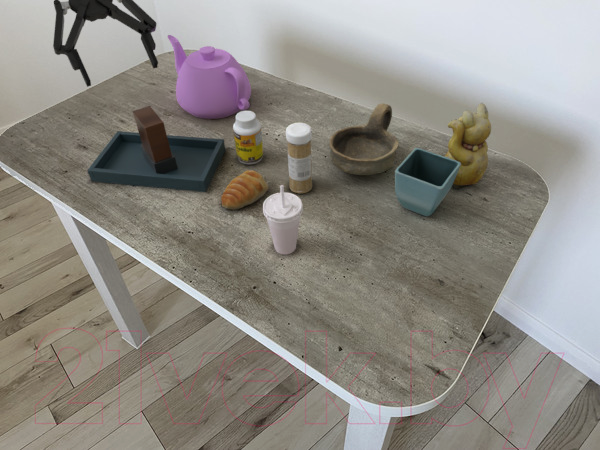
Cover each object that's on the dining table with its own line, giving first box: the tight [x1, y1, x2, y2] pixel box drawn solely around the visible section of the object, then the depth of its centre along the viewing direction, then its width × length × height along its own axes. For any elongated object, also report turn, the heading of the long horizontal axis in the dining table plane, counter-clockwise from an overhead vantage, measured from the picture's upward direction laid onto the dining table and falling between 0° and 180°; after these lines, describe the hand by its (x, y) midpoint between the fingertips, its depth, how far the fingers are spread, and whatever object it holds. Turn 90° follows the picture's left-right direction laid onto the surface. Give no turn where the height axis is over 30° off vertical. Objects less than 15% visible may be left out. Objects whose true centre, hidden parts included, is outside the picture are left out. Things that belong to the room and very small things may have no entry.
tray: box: [87, 130, 226, 193], centre depth 99 cm, size 24×14×3 cm, turn 81°
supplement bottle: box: [232, 110, 264, 165], centre depth 98 cm, size 6×6×10 cm
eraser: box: [132, 105, 178, 174], centre depth 96 cm, size 8×4×11 cm, turn 33°
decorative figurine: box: [444, 102, 492, 189], centre depth 90 cm, size 10×8×15 cm
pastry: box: [220, 169, 269, 211], centre depth 91 cm, size 9×7×4 cm
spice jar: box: [285, 122, 313, 195], centre depth 89 cm, size 5×5×13 cm
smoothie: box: [262, 184, 304, 256], centre depth 78 cm, size 6×6×14 cm
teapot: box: [167, 34, 252, 120], centre depth 113 cm, size 25×18×14 cm
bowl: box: [328, 102, 400, 176], centre depth 96 cm, size 14×18×10 cm
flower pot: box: [394, 147, 461, 218], centre depth 87 cm, size 9×9×9 cm
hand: (123, 74), depth 96 cm, fingers open, 13 cm apart
